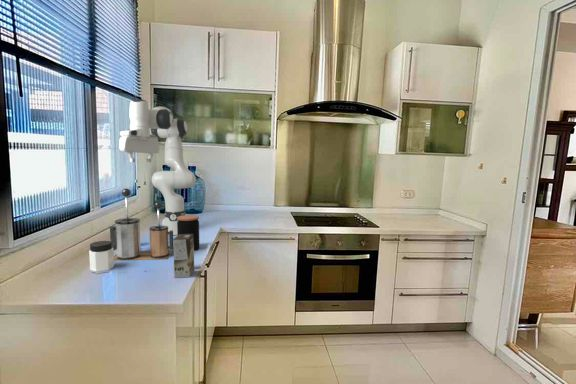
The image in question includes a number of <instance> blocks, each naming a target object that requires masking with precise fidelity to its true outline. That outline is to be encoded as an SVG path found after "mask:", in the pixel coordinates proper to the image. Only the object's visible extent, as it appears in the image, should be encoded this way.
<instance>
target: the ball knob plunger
mask: <svg viewBox="0 0 576 384" xmlns="http://www.w3.org/2000/svg"><path fill="white" fill-rule="evenodd" d="M162 206H163V204H162V202H160V201H156V202H155V203H154V208H156V210H157V226H158V228H160V226H161V224H160V222H161V221H160V218H161V217H160V209H161V208H162Z"/></svg>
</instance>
